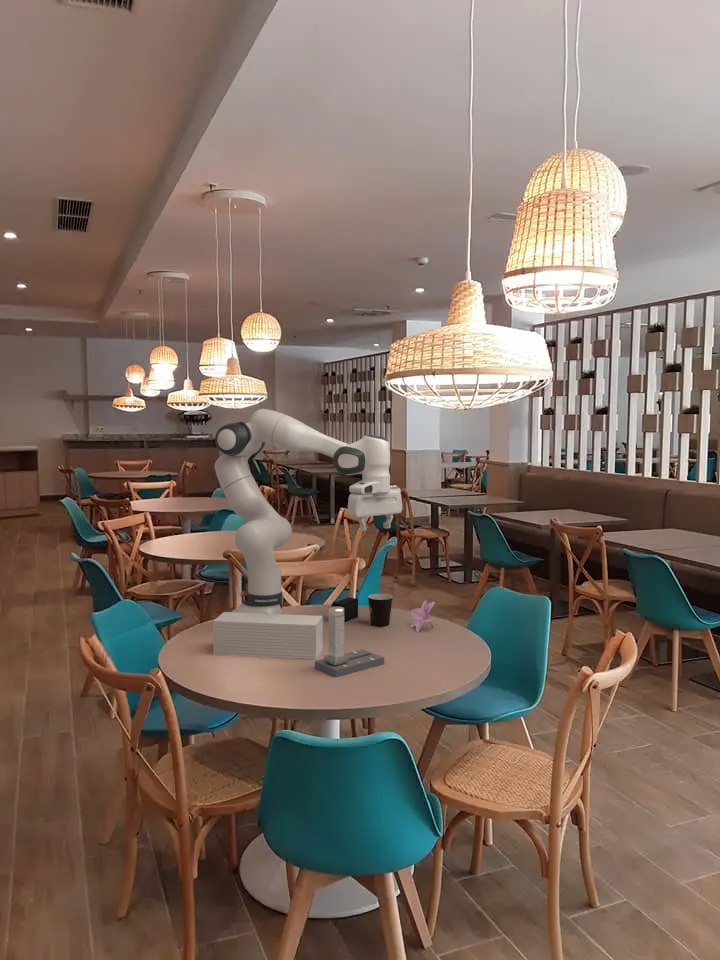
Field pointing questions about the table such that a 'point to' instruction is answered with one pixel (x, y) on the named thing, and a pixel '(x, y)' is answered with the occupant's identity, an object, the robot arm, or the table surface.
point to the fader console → (351, 663)
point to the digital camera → (348, 607)
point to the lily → (421, 615)
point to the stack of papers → (268, 635)
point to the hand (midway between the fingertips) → (375, 529)
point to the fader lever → (336, 637)
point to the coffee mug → (380, 609)
